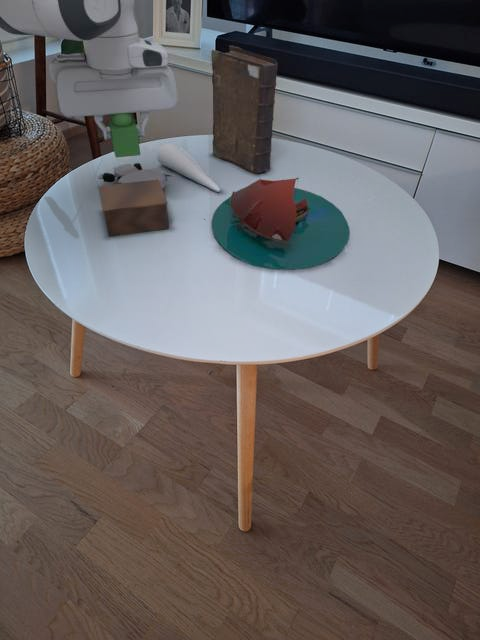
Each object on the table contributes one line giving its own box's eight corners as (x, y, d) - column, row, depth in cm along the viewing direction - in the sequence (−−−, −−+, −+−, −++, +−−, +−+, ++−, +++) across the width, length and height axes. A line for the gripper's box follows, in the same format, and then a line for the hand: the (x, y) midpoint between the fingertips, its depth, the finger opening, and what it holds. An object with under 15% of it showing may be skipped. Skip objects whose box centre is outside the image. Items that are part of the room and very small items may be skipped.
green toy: (115, 157, 84) (108, 112, 79) (113, 148, 88) (106, 103, 82) (140, 155, 85) (135, 110, 80) (137, 145, 89) (131, 101, 83)
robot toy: (96, 188, 108) (131, 208, 99) (92, 169, 105) (127, 188, 96) (141, 174, 114) (177, 192, 106) (138, 155, 111) (175, 172, 103)
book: (273, 171, 116) (282, 60, 99) (251, 178, 113) (257, 64, 96) (232, 149, 125) (233, 44, 109) (210, 155, 122) (209, 48, 105)
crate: (107, 237, 91) (102, 210, 87) (103, 212, 99) (98, 185, 95) (169, 229, 94) (167, 202, 90) (160, 205, 102) (158, 179, 98)
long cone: (197, 206, 105) (156, 166, 115) (220, 201, 108) (178, 163, 118) (200, 183, 101) (157, 144, 111) (224, 179, 105) (180, 141, 114)
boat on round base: (187, 216, 98) (184, 168, 90) (293, 180, 109) (298, 134, 101) (261, 295, 83) (265, 246, 74) (376, 244, 93) (391, 196, 85)
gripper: (45, 59, 71) (66, 149, 80) (177, 54, 76) (182, 138, 85) (45, 50, 75) (65, 135, 84) (170, 45, 80) (175, 126, 89)
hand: (124, 137), depth 85 cm, fingers closed on green toy, 4 cm apart
